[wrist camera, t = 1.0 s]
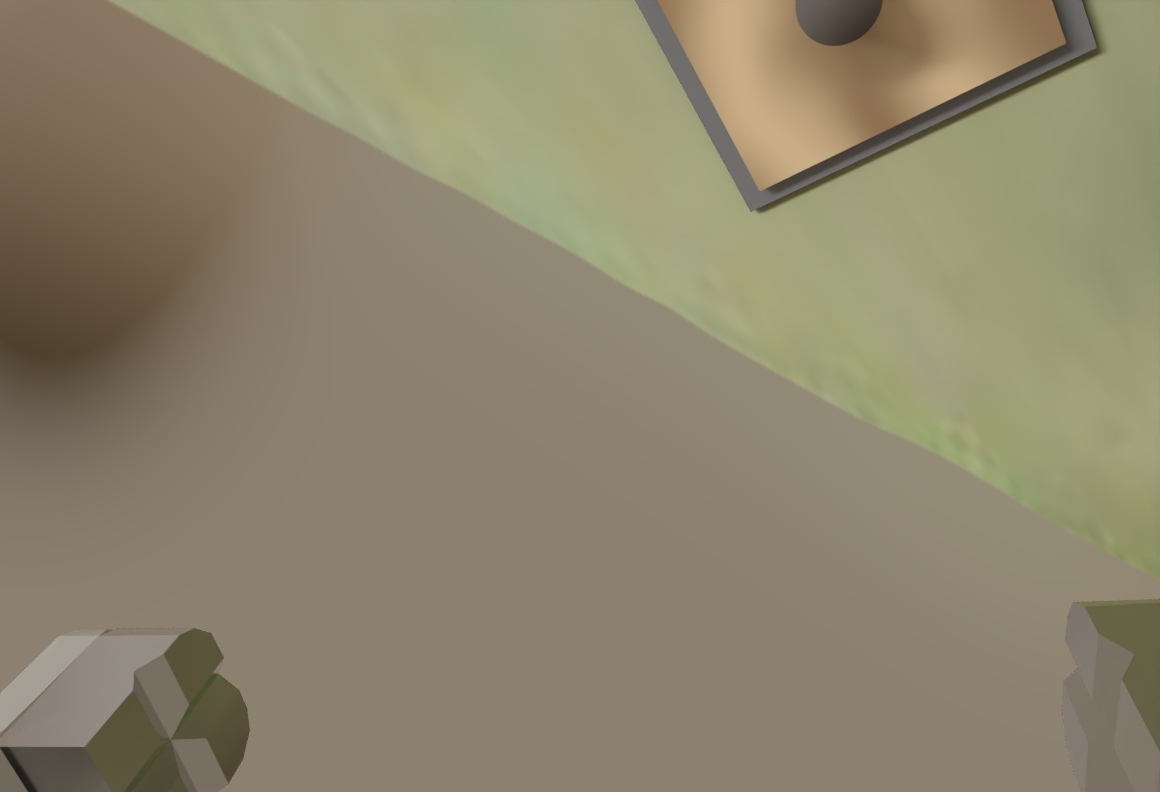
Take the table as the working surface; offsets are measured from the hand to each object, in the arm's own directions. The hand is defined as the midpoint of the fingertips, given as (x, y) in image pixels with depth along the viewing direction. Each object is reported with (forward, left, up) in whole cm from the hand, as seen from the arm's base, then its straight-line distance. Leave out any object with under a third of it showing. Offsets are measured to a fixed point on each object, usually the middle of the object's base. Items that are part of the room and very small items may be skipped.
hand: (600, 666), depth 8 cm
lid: (-2, +2, -34) cm, 34 cm away
